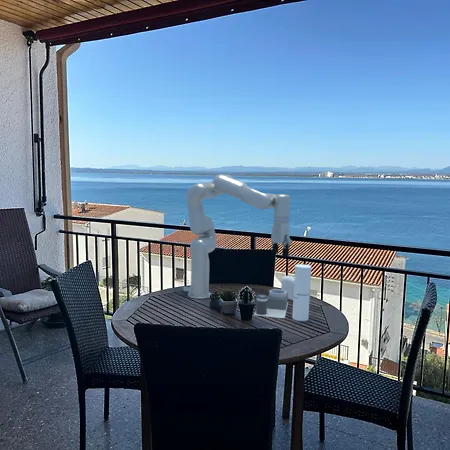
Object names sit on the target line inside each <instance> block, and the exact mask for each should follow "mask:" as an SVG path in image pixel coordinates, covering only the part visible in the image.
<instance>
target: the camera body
mask: <svg viewBox="0 0 450 450" xmlns="http://www.w3.org/2000/svg"><path fill="white" fill-rule="evenodd" d="M267 296H268V301H267V308H268V309H278V310H286V306H287V302H289V301H288V300H289V299H288V293H287V292H286V291H285V290H281V289H279V288H276V289H275V288H274V289H269V291H268V295H267ZM287 307H288V306H287ZM286 311H287V310H286Z"/></svg>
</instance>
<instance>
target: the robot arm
mask: <svg viewBox="0 0 450 450" xmlns="http://www.w3.org/2000/svg"><path fill="white" fill-rule="evenodd" d="M222 194H227V195H228V196H231V197H234V198H236V199H238V200H239V201H241V202H244V203H245V204H247V205H249V206H253V207H254V208H256V209H260V210H269V209H273V223H272V226H271V227H272V228H271V236H270V238H271V239H270V240H271V245H272V247H271V248H272V249H271V250H272V252H271V253H272V254H278V253H279V246H280V245H282V247H283V248H282V257H283V258H285V257H290V254H289V253H290V247H291V243H292V239H291V238H290V234H291V233H290V213H291V211H290V210H291V196H290V195H289V194H286V193H285V194H283V193H280V194H279V193H277V194H275V193H269V192H268V193H264V192H260V191H259V190H255V189H254V188H251V187H249V186H248V184H247V183H246V182H244V181H241V180H238V179H236V178H234V177H233V176H232V175H230V174H225V173H224V174H223V173H219V174H217V175H216V176H215V177H214V178H213V180H212V181H209V182H198V183H195V184H193V185H191V186H190V187H189V188H188V190H187V191H186V197H185V202H186V206H187V216H188V223H189V228H190V231H191V233H192V234H193V235H198V236H199V237H198V236H197V237H195V238H194V239H193V240H192V241H191V243H190V246H189V251H190V257H191V258H190V259H191V260H190V261H191V264H190V265H191V267H190V268H191V269H190V271H191V272H190V286H183V288H182V289H183V292H188V293H187V297H189V298H191V299H198V300H204V299H205V300H206V299H209V298H211V297H210V295H211V296H212V293H211V292H210V291H209V285H210V258H209V253H212V252H213V251H214V250H215V249H216V247H217V238H216V231H215V230H216V229H215V224H214V221H213V220H212V218H210V216H208V215H205V214H206V213H205V207H204V204H203V203H202V200H208V199H209V200H210V199H213V198H216V197H218V196H220V195H222ZM279 244H280V245H279Z"/></svg>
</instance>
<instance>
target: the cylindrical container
mask: <svg viewBox="0 0 450 450" xmlns="http://www.w3.org/2000/svg"><path fill="white" fill-rule="evenodd" d="M293 277H294V296H293V300H292V301H293V302H292V317H291V318H292V320H294V321H297V322H307V321H308V320H309V313H310V295H311V277H312V266H311V265H309V264H302V263H300V264H295V265H294V276H293Z"/></svg>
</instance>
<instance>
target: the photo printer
mask: <svg viewBox="0 0 450 450" xmlns="http://www.w3.org/2000/svg"><path fill="white" fill-rule="evenodd" d="M294 277H295V276H291V275H284V276H282V278H281V289H280V290H285V291H286V292H287V293H288V300H291V301H293V296H294Z"/></svg>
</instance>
